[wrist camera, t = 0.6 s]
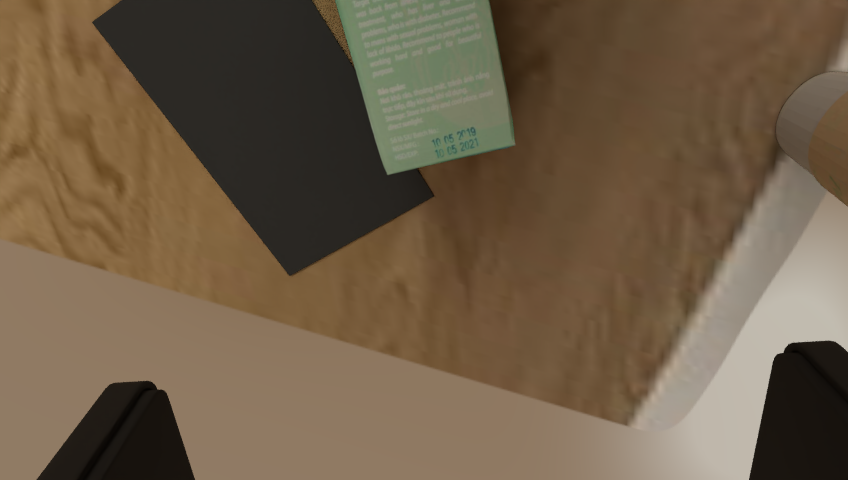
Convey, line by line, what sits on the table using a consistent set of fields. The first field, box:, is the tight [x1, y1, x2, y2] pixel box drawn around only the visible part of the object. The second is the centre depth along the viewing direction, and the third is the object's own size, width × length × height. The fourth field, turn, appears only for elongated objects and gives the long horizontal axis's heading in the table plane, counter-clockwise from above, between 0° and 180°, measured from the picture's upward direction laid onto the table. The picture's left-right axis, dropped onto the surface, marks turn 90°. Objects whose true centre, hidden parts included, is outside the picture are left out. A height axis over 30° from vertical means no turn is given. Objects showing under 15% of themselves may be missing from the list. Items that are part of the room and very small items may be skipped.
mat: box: [92, 0, 434, 276], centre depth 38 cm, size 20×12×1 cm, turn 31°
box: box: [335, 0, 515, 175], centre depth 32 cm, size 7×14×8 cm, turn 15°
